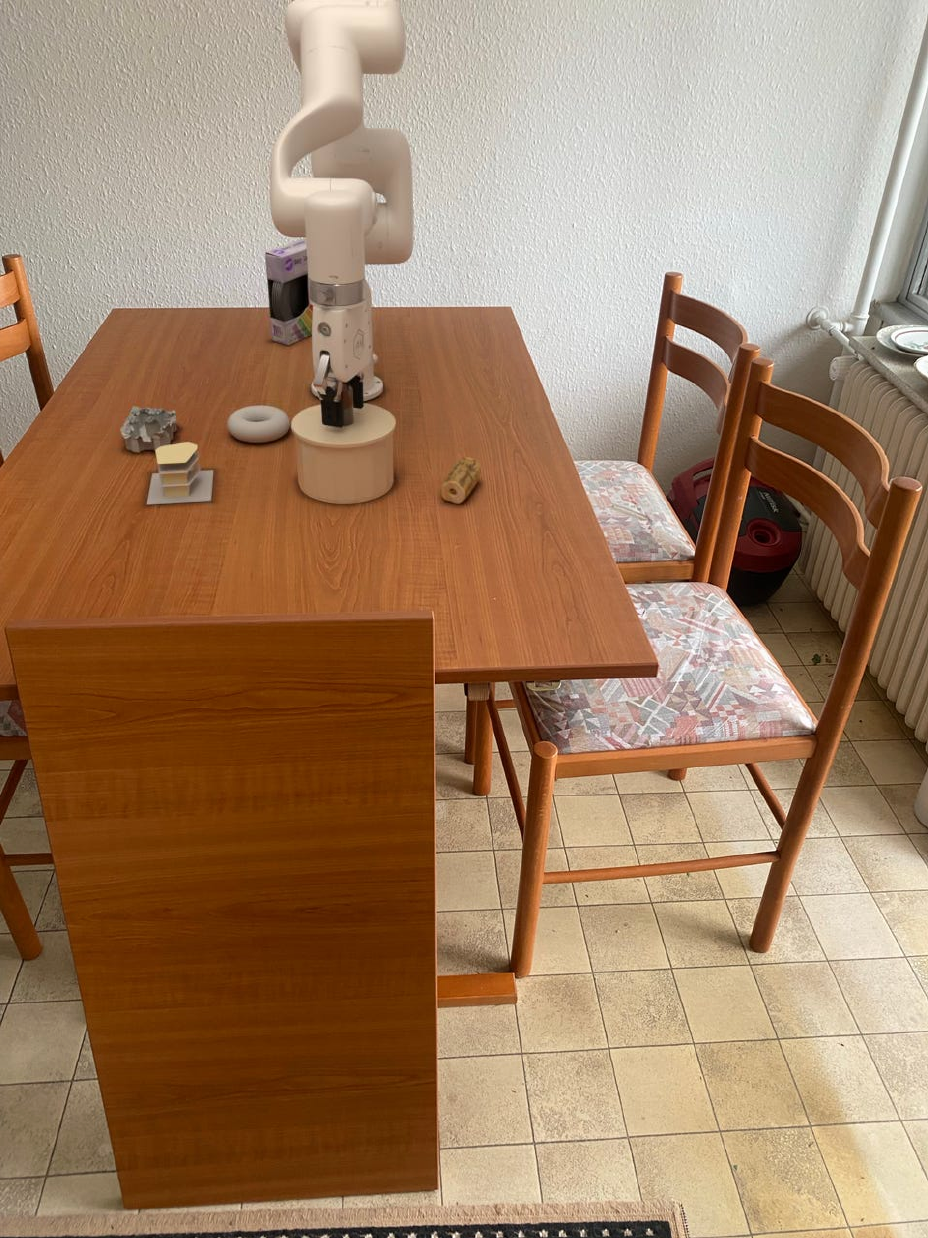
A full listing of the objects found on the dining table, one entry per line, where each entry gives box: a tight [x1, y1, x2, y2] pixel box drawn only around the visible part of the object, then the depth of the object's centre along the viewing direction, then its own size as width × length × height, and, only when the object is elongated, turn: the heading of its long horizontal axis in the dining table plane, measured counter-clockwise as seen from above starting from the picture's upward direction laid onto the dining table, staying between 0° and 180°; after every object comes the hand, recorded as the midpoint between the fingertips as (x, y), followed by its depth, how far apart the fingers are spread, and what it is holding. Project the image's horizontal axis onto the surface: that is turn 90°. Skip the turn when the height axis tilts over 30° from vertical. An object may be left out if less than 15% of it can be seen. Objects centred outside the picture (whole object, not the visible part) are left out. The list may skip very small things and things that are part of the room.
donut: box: [226, 405, 291, 444], centre depth 167 cm, size 10×4×10 cm
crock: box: [294, 432, 395, 505], centre depth 152 cm, size 14×14×9 cm
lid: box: [290, 384, 397, 448], centre depth 148 cm, size 15×15×6 cm
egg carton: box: [119, 405, 178, 454], centre depth 164 cm, size 11×8×4 cm
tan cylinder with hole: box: [440, 456, 482, 505], centre depth 151 cm, size 8×4×4 cm, turn 162°
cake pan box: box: [264, 237, 313, 346], centre depth 204 cm, size 19×5×18 cm, turn 147°
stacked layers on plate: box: [146, 441, 214, 505], centre depth 150 cm, size 10×9×6 cm
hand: (343, 415), depth 148 cm, fingers open, 6 cm apart
